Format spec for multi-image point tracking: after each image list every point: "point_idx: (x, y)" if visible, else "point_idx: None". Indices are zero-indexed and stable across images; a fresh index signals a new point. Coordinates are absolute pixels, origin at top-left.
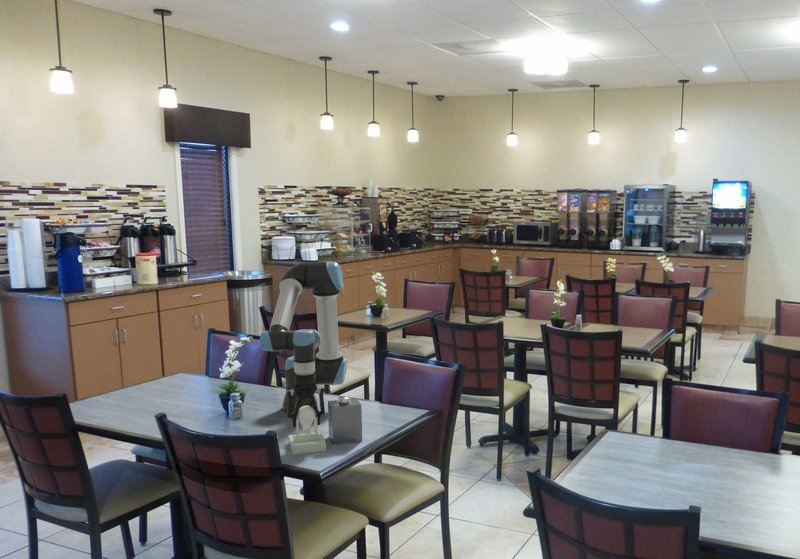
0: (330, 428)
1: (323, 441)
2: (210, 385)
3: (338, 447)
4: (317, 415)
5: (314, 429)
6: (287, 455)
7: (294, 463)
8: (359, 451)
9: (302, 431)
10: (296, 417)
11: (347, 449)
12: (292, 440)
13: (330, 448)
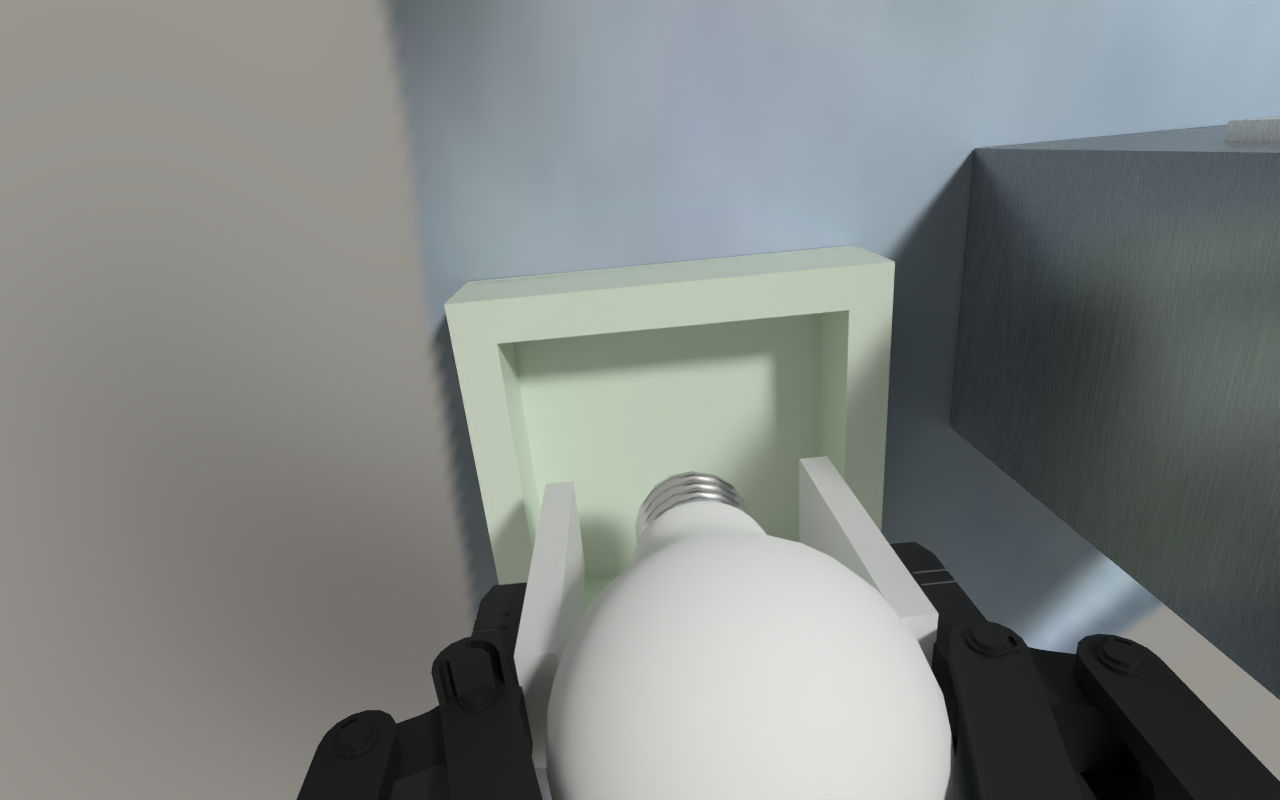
0: (1052, 323)
1: None
2: None
3: (978, 508)
4: (954, 748)
5: (812, 486)
6: (475, 609)
7: (544, 770)
8: (1121, 633)
9: (636, 536)
10: (537, 668)
11: (1041, 572)
12: (507, 501)
13: (897, 519)
